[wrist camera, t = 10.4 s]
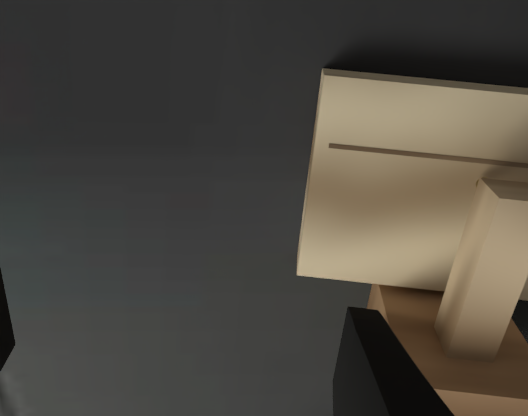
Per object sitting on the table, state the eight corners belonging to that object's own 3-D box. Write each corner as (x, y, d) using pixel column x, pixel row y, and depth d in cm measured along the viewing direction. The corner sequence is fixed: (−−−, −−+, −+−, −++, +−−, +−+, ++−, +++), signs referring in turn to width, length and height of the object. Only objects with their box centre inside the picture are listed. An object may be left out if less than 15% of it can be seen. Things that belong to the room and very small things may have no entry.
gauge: (453, 383, 23) (514, 541, 16) (352, 372, 23) (373, 523, 16) (535, 153, 18) (673, 249, 11) (404, 140, 18) (464, 228, 11)
